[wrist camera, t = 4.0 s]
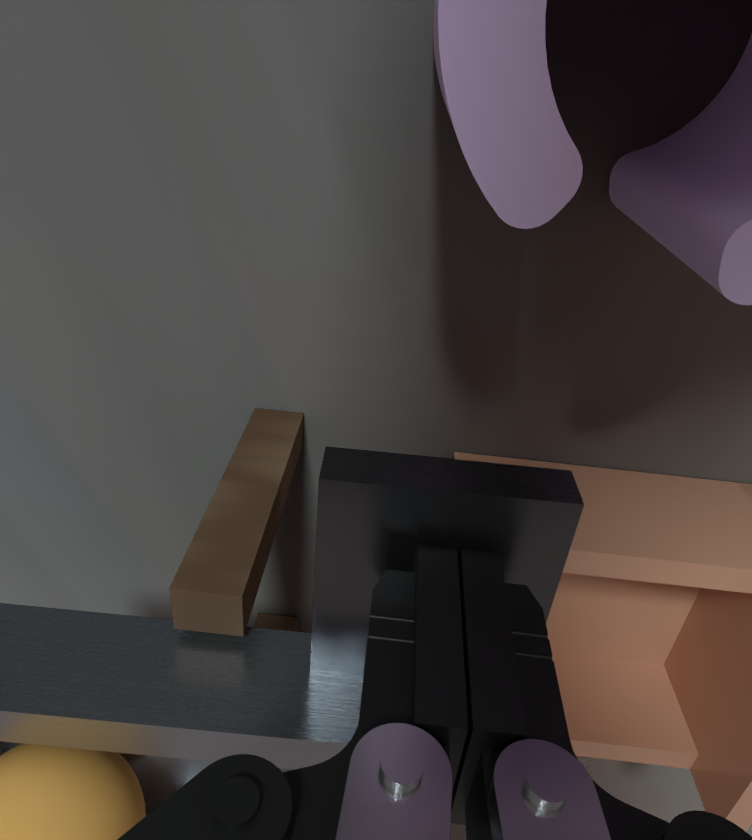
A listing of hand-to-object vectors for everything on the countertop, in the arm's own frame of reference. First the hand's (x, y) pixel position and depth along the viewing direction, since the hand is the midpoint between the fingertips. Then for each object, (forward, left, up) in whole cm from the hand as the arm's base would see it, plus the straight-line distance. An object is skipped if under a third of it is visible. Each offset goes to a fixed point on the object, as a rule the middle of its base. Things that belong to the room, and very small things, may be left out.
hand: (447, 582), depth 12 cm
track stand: (+6, -5, -8) cm, 11 cm away
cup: (+6, +6, -8) cm, 12 cm away
